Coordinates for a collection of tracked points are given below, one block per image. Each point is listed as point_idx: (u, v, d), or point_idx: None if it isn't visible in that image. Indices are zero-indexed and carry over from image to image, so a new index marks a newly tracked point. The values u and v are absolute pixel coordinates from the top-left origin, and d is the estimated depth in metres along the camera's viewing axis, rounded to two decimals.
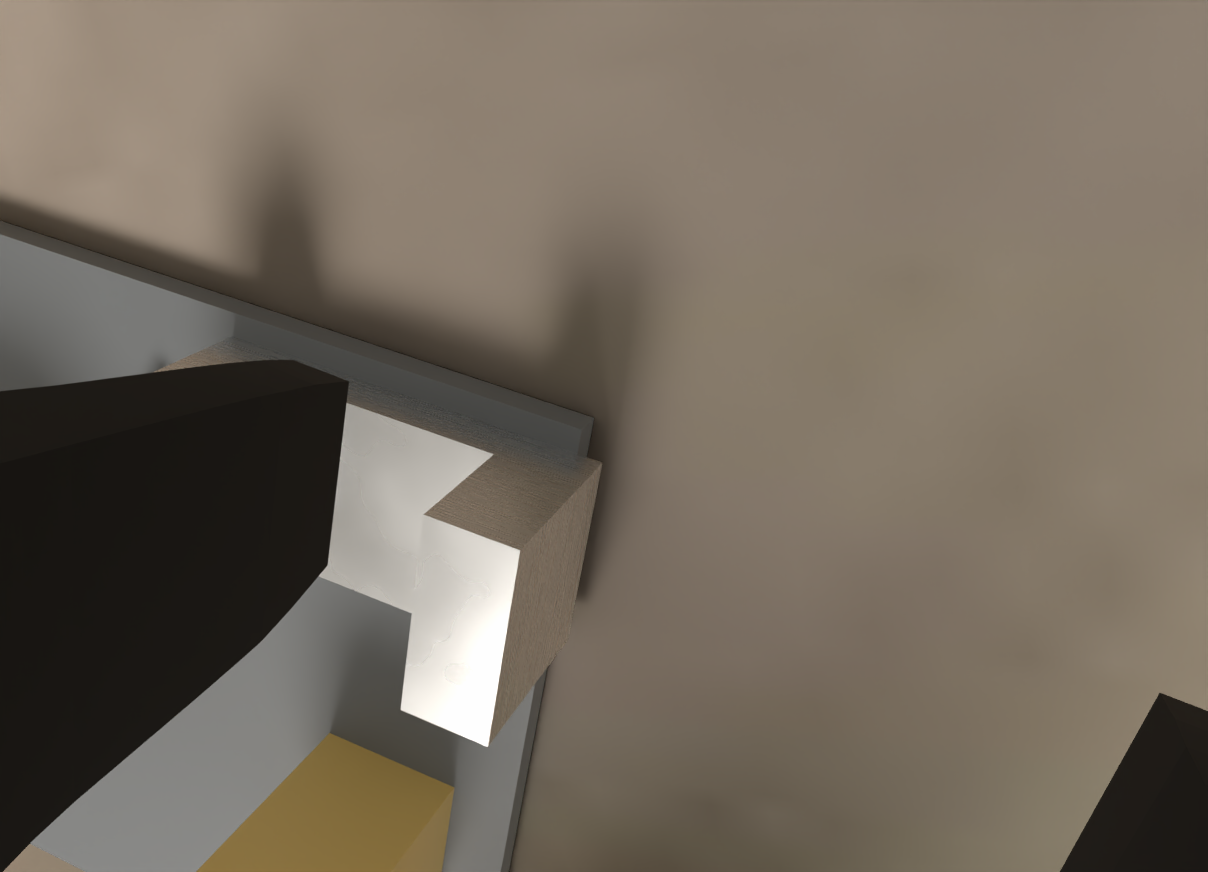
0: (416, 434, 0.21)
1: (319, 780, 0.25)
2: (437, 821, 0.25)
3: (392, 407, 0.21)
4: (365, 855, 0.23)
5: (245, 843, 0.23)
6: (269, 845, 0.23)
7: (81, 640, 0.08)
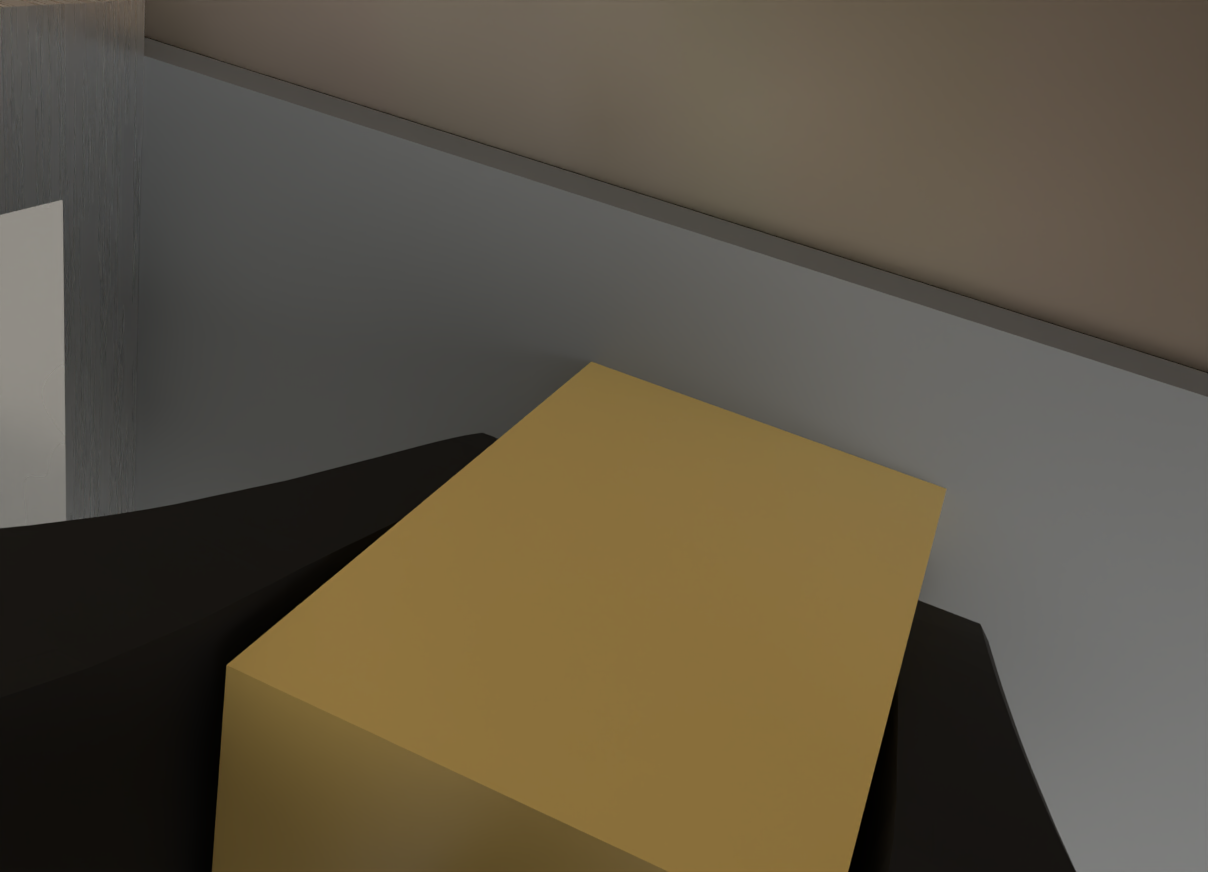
0: None
1: None
2: (608, 403, 0.09)
3: None
4: None
5: None
6: None
7: None
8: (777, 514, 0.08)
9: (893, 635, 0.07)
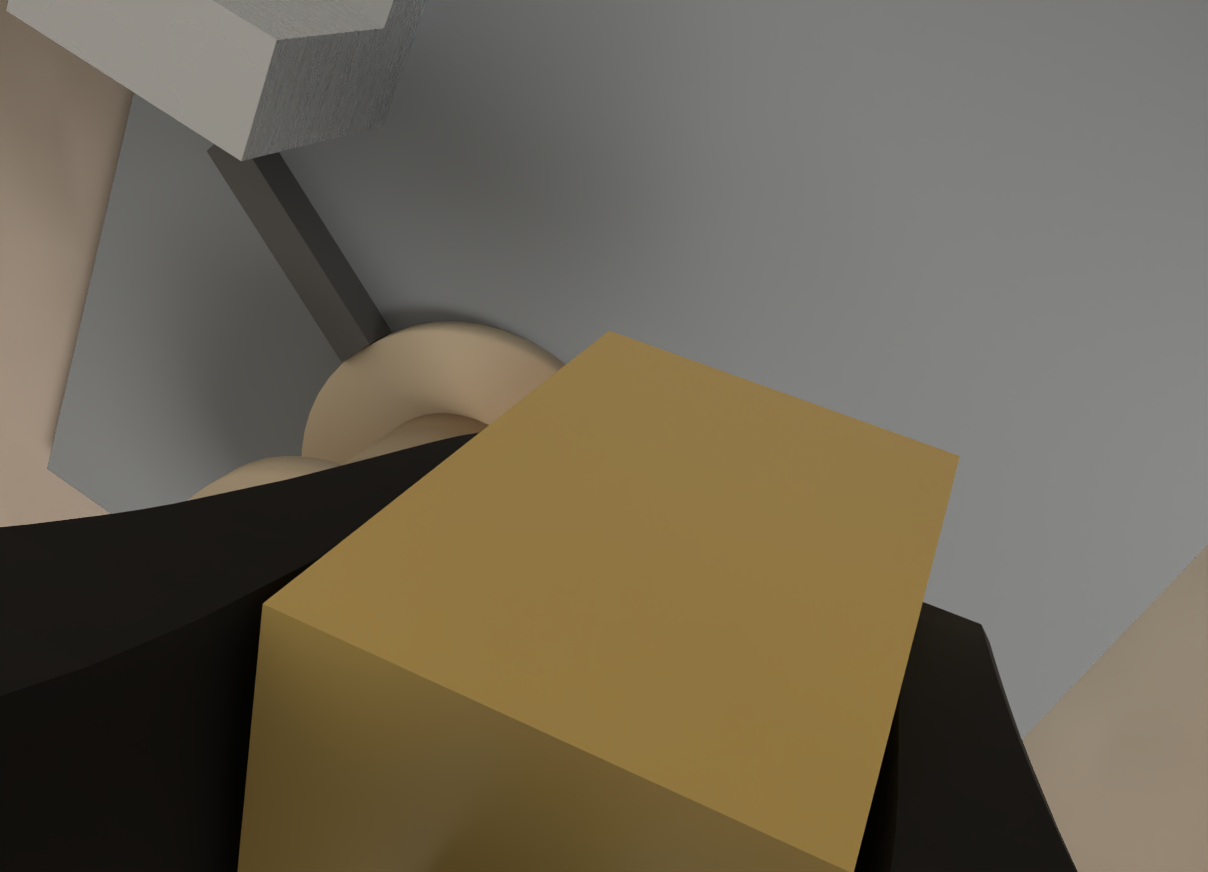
0: None
1: None
2: (626, 370, 0.10)
3: None
4: None
5: None
6: None
7: None
8: (794, 476, 0.08)
9: (910, 590, 0.07)
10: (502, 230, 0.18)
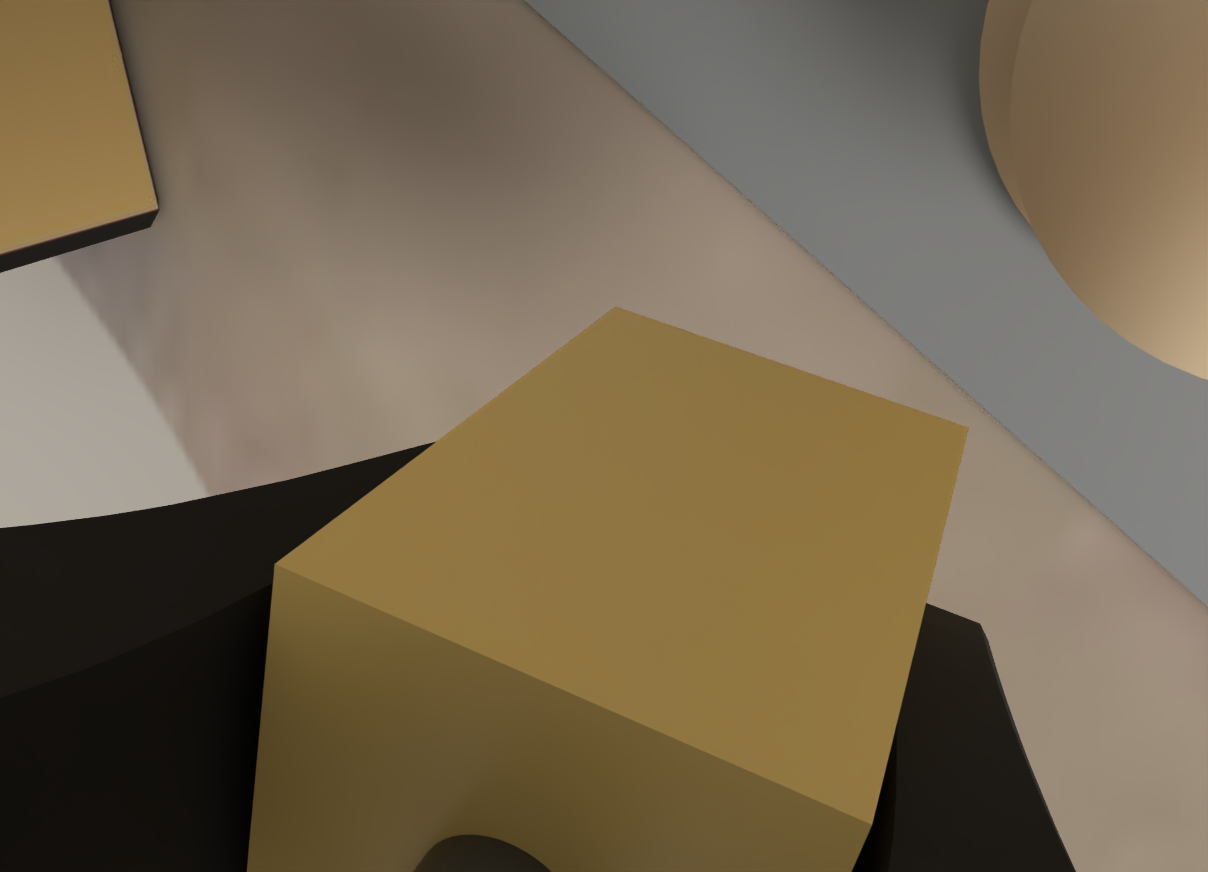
0: None
1: None
2: (633, 343, 0.10)
3: None
4: None
5: None
6: None
7: None
8: (804, 446, 0.08)
9: (922, 555, 0.07)
10: None
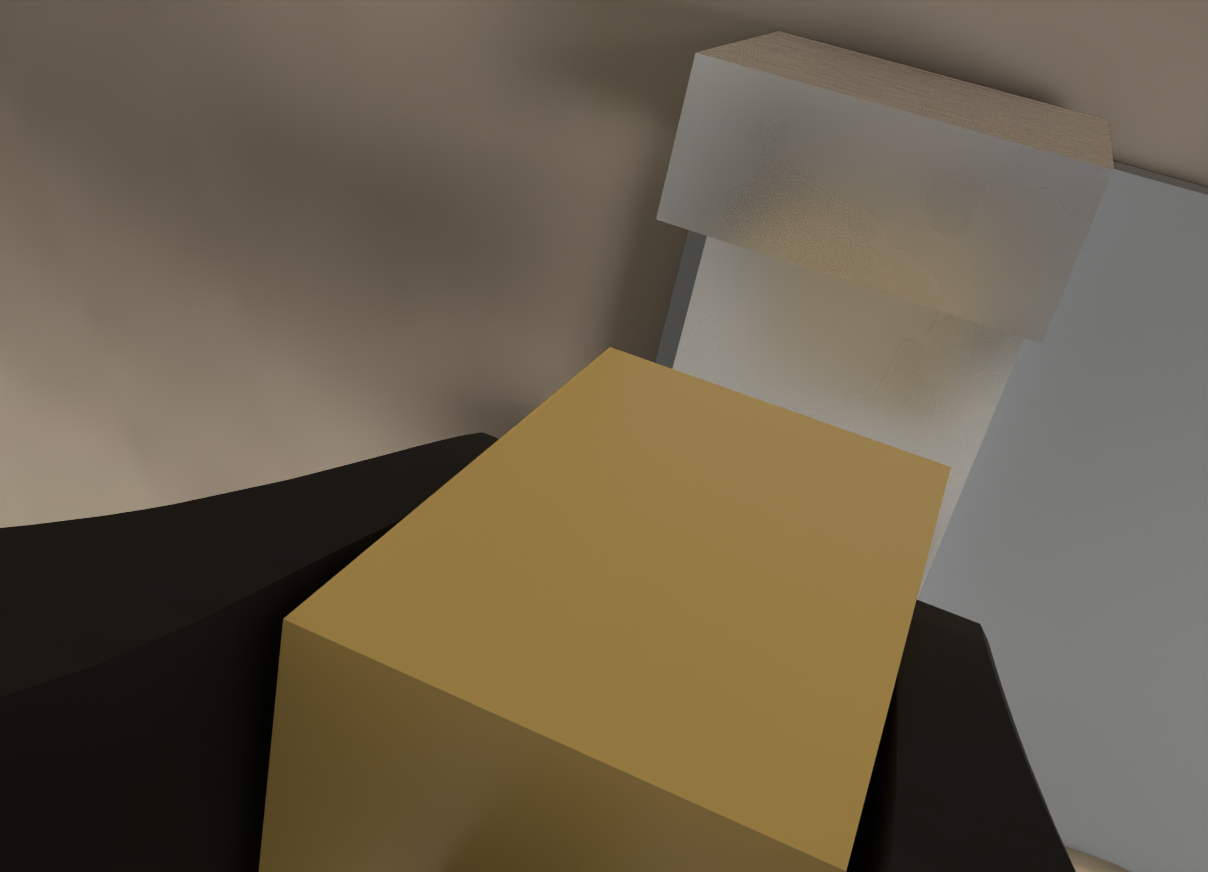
0: (702, 298, 0.15)
1: None
2: (627, 386, 0.10)
3: (687, 338, 0.15)
4: None
5: None
6: None
7: None
8: (790, 489, 0.09)
9: (902, 599, 0.08)
10: (1044, 751, 0.16)
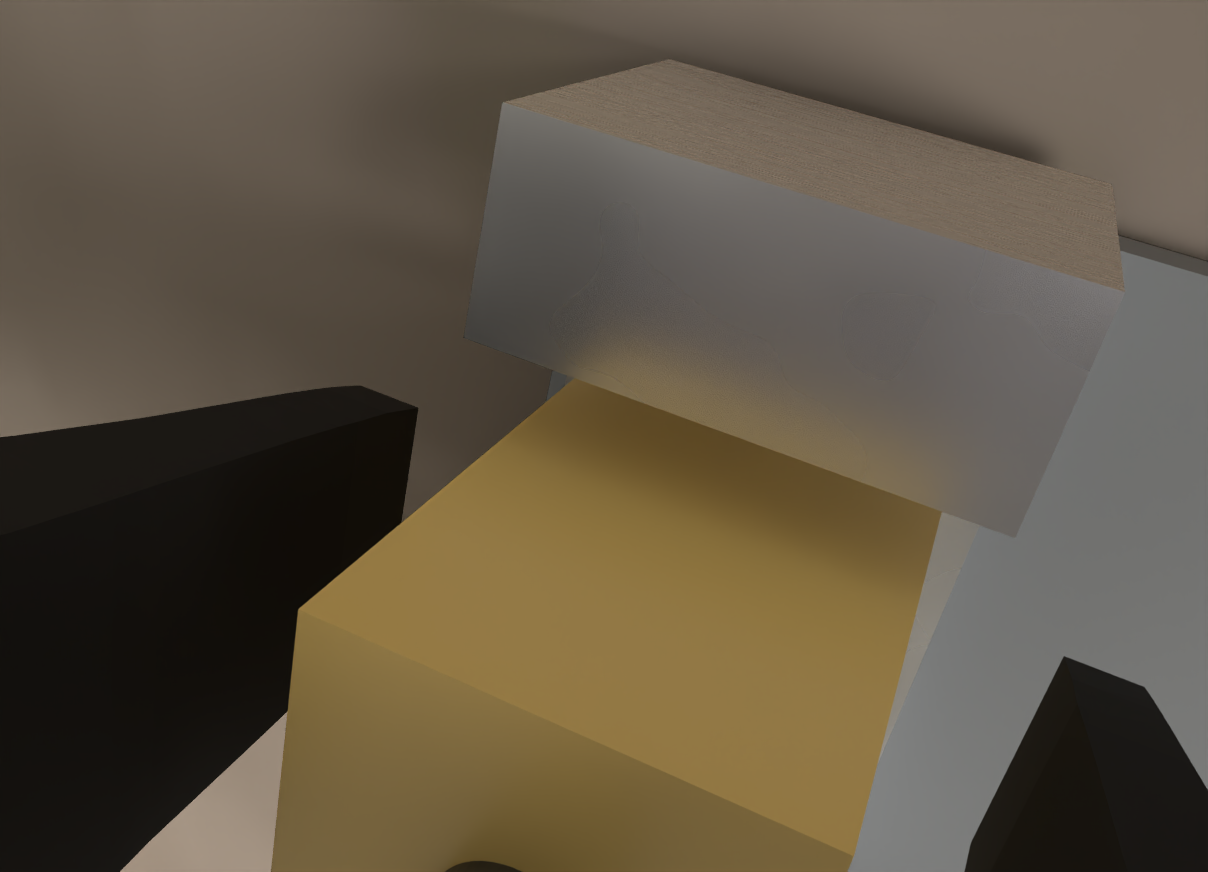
0: None
1: None
2: None
3: None
4: None
5: None
6: None
7: (161, 679, 0.08)
8: (796, 483, 0.09)
9: (906, 592, 0.08)
10: None
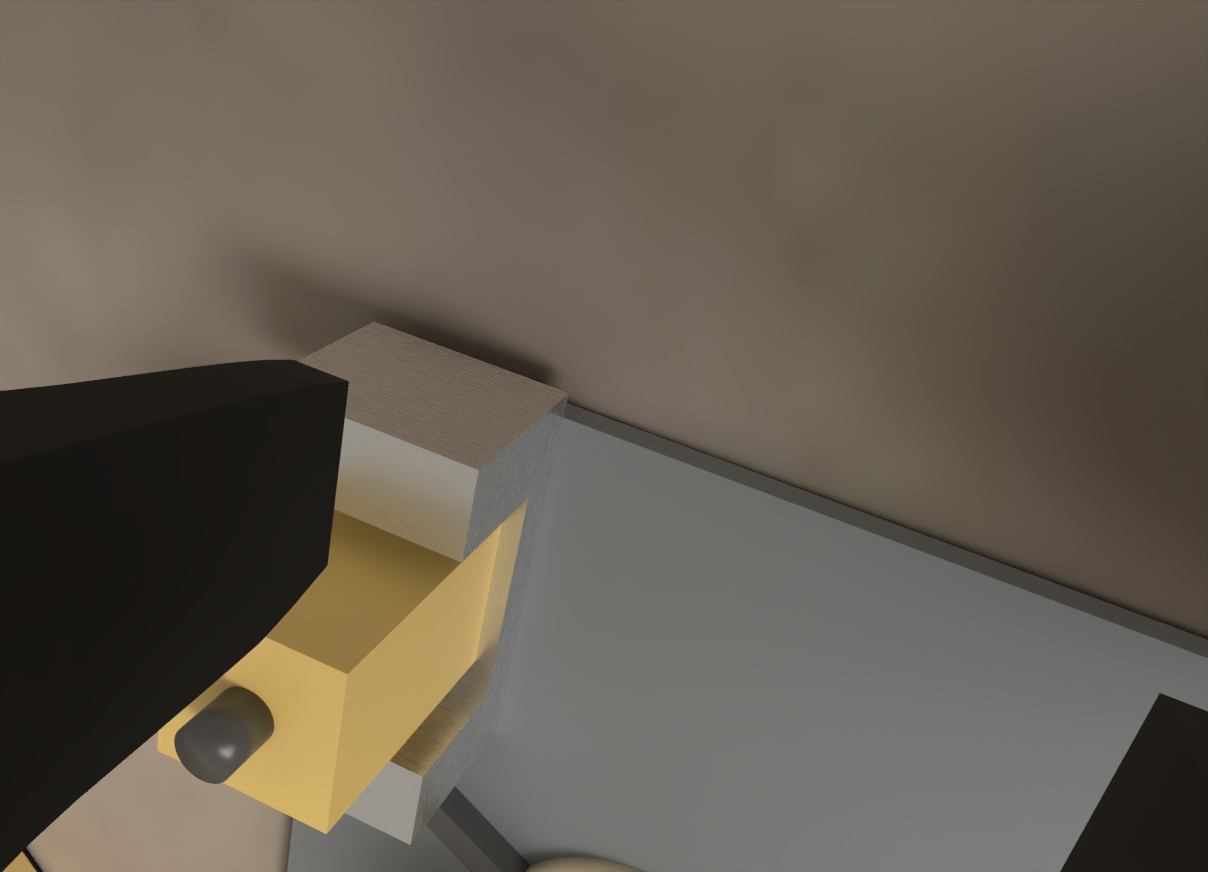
0: None
1: None
2: None
3: None
4: None
5: None
6: None
7: (80, 640, 0.08)
8: None
9: (432, 585, 0.18)
10: (599, 796, 0.23)
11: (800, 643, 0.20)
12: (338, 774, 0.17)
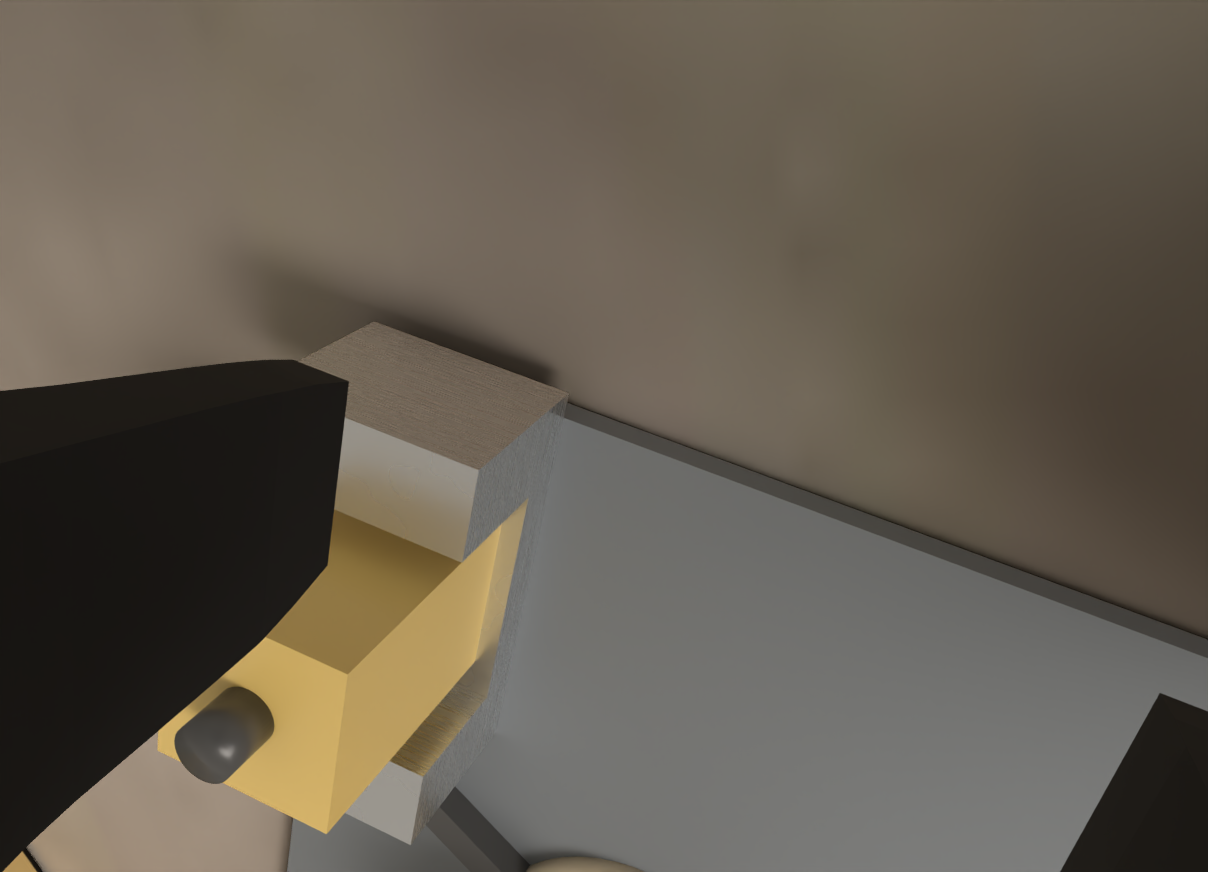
0: None
1: None
2: None
3: None
4: None
5: None
6: None
7: (80, 640, 0.08)
8: None
9: (432, 585, 0.18)
10: (599, 796, 0.23)
11: (800, 643, 0.20)
12: (338, 774, 0.17)
